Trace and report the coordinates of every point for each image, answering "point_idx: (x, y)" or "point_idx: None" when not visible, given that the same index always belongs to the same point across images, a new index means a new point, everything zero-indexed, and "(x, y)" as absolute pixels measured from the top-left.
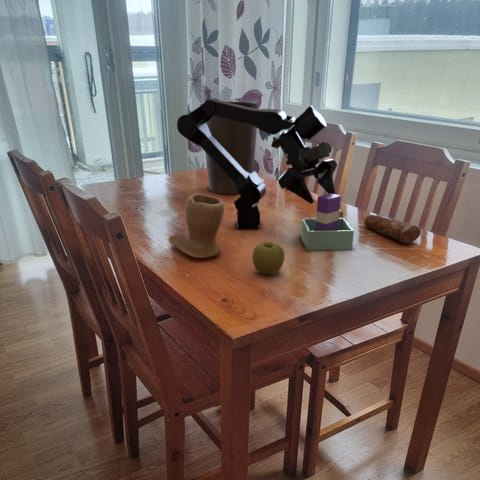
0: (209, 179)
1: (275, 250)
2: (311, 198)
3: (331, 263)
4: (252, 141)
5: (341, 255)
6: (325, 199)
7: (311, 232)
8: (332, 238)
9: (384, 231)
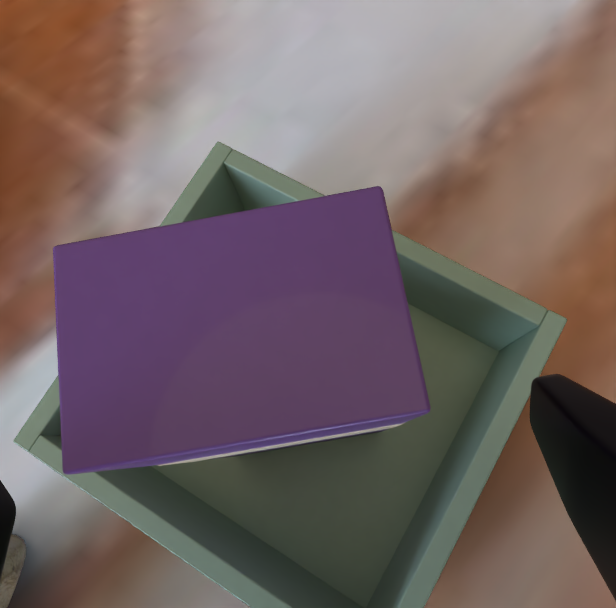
0: None
1: None
2: (598, 398)
3: (501, 115)
4: None
5: (366, 173)
6: (392, 244)
7: (537, 306)
8: None
9: None
